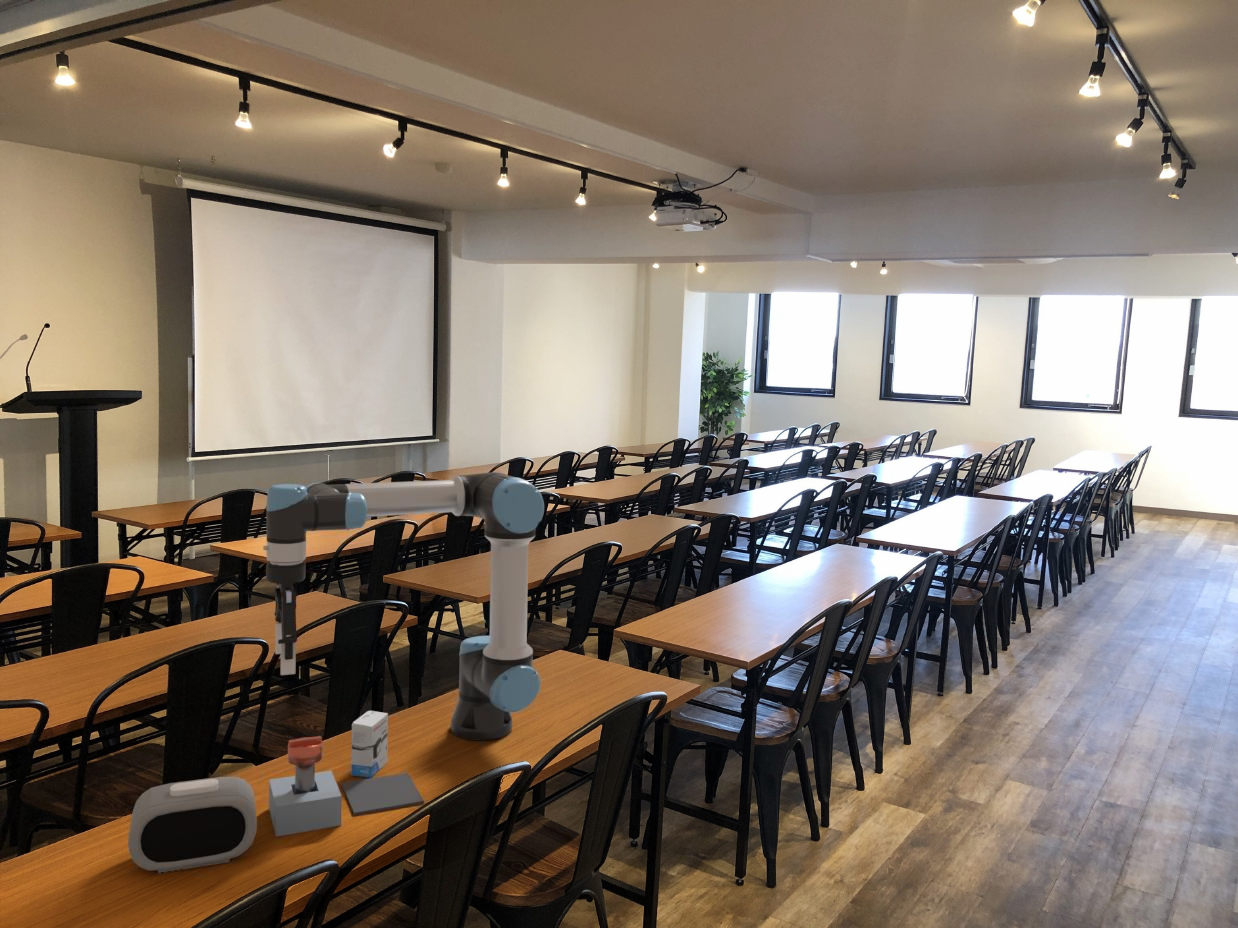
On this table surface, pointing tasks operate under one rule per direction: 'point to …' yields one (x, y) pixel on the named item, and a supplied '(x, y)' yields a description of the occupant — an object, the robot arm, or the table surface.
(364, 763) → the ink box
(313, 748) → the red-capped vial
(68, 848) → the table surface
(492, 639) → the robot arm
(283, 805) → the eye block
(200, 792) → the alarm clock
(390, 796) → the mat
